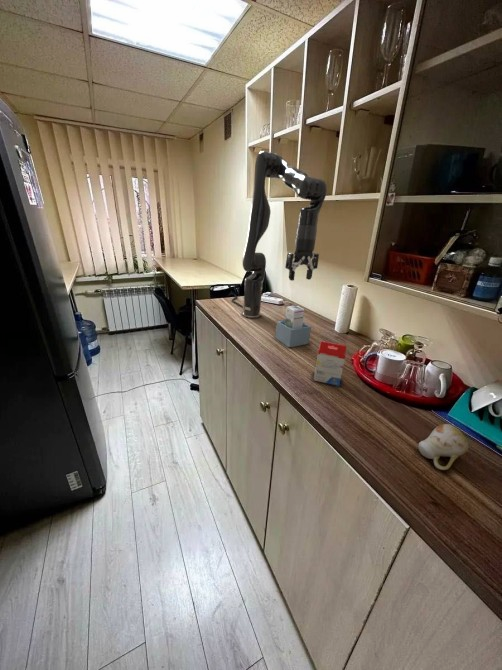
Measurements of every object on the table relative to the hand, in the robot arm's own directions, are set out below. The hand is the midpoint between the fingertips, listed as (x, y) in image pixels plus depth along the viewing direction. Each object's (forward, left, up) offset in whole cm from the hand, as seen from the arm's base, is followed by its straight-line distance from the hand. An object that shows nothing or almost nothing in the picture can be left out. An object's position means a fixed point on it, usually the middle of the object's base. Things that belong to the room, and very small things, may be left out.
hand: (300, 279), depth 110 cm
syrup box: (0, 0, -26) cm, 26 cm away
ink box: (+31, -8, -28) cm, 42 cm away
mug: (+67, -6, -27) cm, 73 cm away
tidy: (0, 0, -27) cm, 27 cm away
